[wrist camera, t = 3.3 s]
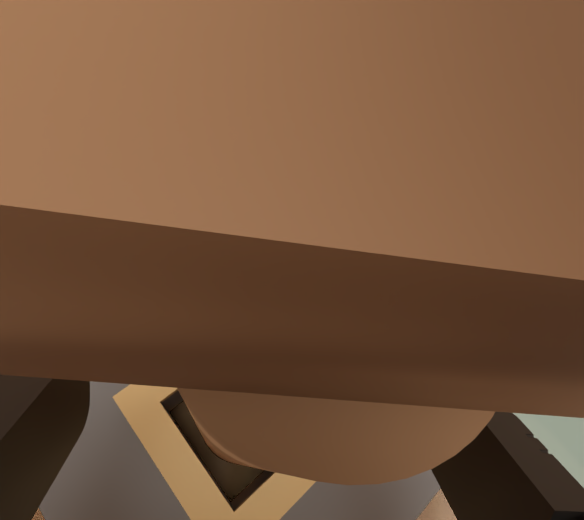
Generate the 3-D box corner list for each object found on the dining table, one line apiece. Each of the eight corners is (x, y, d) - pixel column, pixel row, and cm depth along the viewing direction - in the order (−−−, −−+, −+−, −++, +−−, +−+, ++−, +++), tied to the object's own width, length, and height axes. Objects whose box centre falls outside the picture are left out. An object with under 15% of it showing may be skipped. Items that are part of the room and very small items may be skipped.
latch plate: (10, 395, 17) (-34, 381, 14) (265, 235, 22) (273, 201, 19) (199, 733, 13) (196, 814, 10) (443, 440, 19) (486, 436, 16)
